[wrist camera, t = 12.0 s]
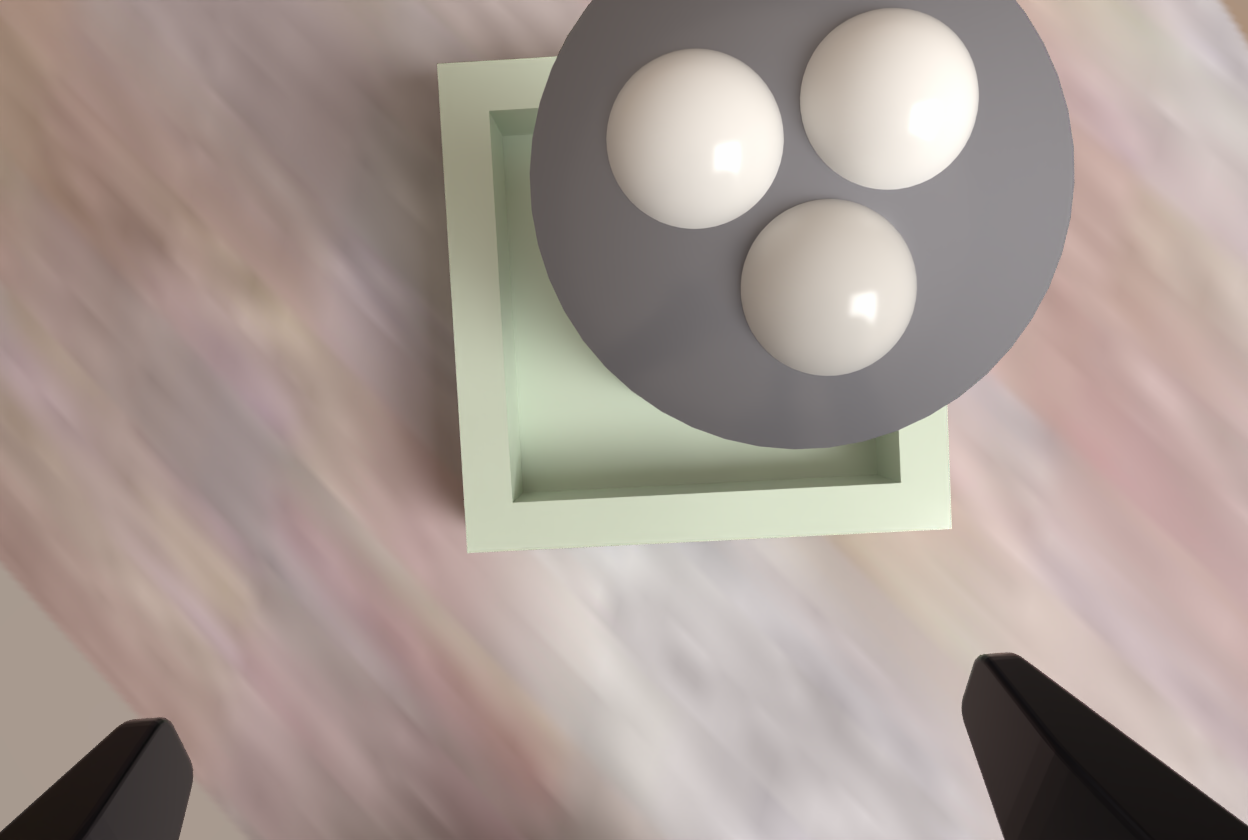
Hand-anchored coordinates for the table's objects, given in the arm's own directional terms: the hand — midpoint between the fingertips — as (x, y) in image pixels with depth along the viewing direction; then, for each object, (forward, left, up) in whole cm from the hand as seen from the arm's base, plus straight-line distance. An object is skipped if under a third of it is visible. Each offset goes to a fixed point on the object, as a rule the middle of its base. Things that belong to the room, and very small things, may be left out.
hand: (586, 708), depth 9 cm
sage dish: (+4, -5, -13) cm, 14 cm away
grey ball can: (+3, -5, -12) cm, 14 cm away
